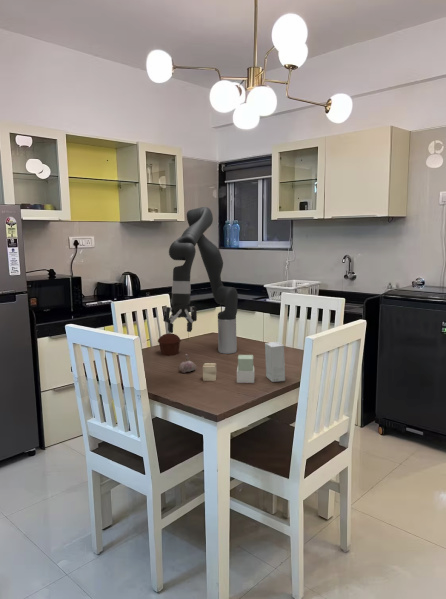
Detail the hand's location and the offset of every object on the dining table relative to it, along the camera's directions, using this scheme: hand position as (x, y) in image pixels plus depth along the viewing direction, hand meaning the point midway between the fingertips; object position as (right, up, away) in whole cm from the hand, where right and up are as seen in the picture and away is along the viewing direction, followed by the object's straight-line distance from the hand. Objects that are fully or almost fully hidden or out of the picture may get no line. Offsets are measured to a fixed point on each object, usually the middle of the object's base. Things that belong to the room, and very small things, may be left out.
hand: (180, 332), depth 184 cm
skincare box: (+39, -20, +3) cm, 44 cm away
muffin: (-9, -14, +45) cm, 49 cm away
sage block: (+27, -15, +2) cm, 31 cm away
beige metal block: (+12, -20, +5) cm, 24 cm away
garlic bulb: (+2, -19, +16) cm, 24 cm away
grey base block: (+27, -20, +2) cm, 34 cm away
